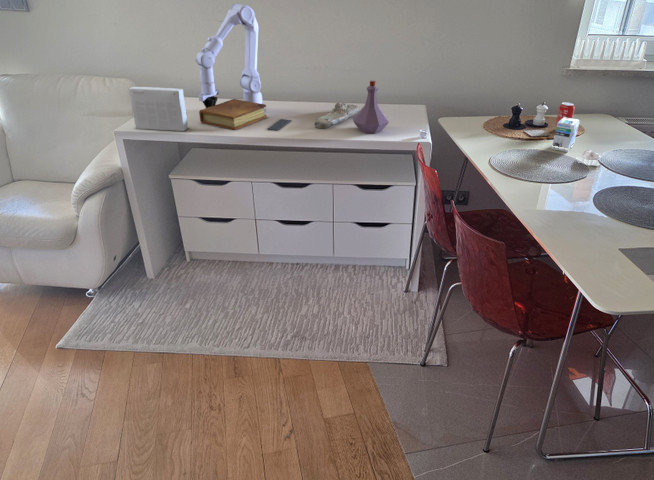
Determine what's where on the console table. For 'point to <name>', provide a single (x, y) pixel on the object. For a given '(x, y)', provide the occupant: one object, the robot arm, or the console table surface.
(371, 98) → the flask
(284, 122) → the grey mat
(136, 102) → the skincare box
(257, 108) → the diary
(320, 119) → the elongated rock
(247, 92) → the robot arm
